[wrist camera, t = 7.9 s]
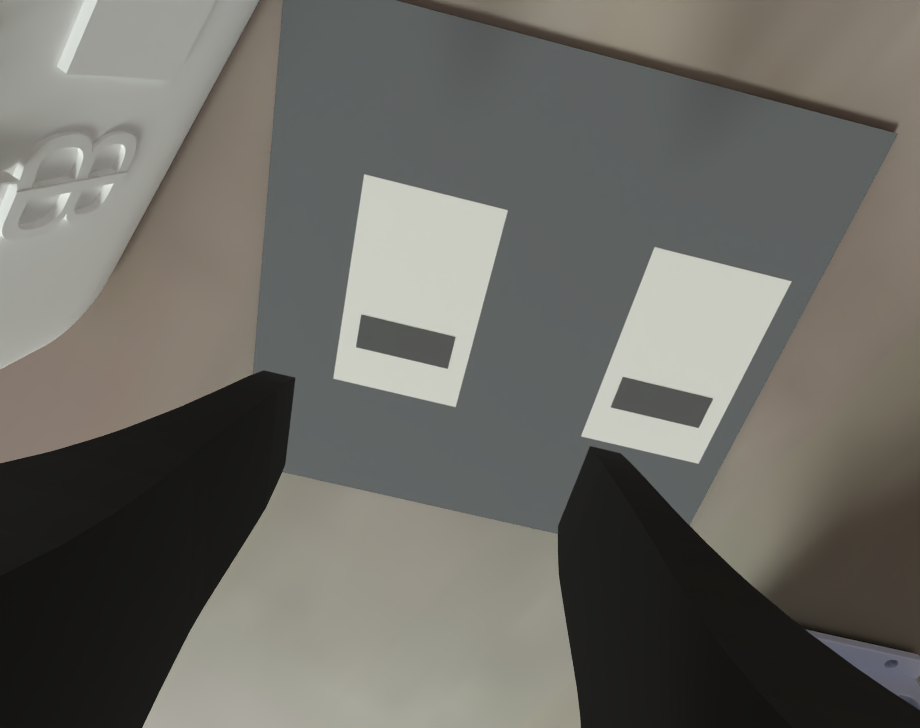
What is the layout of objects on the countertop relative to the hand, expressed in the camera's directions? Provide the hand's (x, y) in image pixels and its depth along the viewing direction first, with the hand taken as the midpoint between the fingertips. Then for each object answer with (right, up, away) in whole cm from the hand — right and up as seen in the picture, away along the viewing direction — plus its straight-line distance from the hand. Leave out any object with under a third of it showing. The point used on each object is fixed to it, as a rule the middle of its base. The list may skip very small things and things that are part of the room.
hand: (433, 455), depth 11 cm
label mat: (+2, +3, +8) cm, 9 cm away
